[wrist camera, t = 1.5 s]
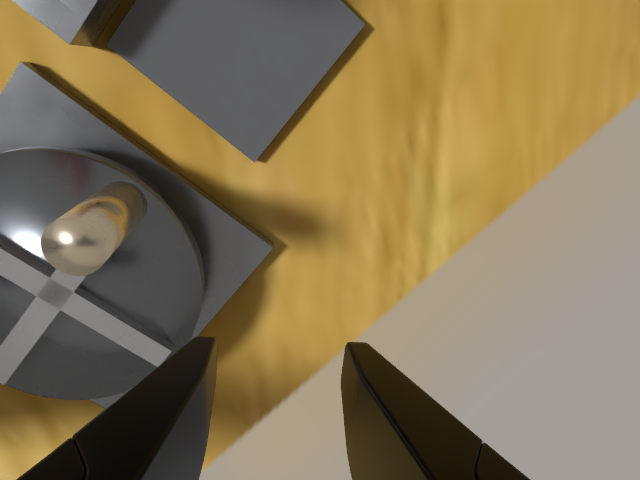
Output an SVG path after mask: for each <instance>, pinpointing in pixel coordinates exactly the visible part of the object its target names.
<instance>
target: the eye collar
mask: <svg viewBox="0 0 640 480" xmlns="http://www.w3.org/2000/svg"><path fill="white" fill-rule="evenodd" d="M12 1H14V2H15V3H16V4H18V5H19V6H20V7H22V8H23V9H24V10H25V11H27V12H28V13H29V14H31V15H32V16H33V17H34V18H36V19H37V20H38V21H40V22H41V23H42V24H43V25H45V26H46V27H47V28H49V29H50V30H51V31H53V32H54V33H55V34H56V35H58V36H59V37H60V38H62V39H63V40H64V41H65V42H67V43H68V44H69V45H79V46H88V47H92V46H93V44H94V42H95V41H96V39H97V38H98V36H99V35H100V33H101V32H102V30H103V29H104V27H105V26H106V24H107V23H108V21H109V19H110V18H111V16H112V15H113V13H114V12H115V10H116V9H117V7H118V6H119V4H120V3H121V1H122V0H12Z"/></svg>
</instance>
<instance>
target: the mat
mask: <svg viewBox="0 0 640 480" xmlns="http://www.w3.org/2000/svg"><path fill="white" fill-rule="evenodd" d="M364 25H365V24H364V23H363V22H362V21H361V20H360V19H359V18H358V17H357V16H356V15H355V14H354V13H353V12H352V11H351V10H350V9H349V8H348V7H347V6H346V5H345V4H344V3H343V2H342V1H341V0H136V1H135V3H134V4H133V6H132V7H131V9H130V10H129V12H128V13H127V15H126V16H125V18H124V19H123V21H122V22H121V24H120V25H119V27H118V28H117V30H116V31H115V33H114V34H113V36H112V38H111V39H110V41H109V42H108V44H107V46H109V47H110V48H111V49H112V50H114V51H115V52H116V53H117V54H119V55H120V56H121V57H122V58H124V59H125V60H126V61H128V62H129V63H130V64H131V65H133V66H134V67H135V68H136V69H138V70H139V71H140V72H141V73H143V74H144V75H145V76H146V77H148V78H149V79H150V80H151V81H153V82H154V83H155V84H156V85H158V86H159V87H160V88H162V89H163V90H164V91H165V92H167V93H168V94H169V95H170V96H172V97H173V98H174V99H175V100H177V101H178V102H179V103H180V104H182V105H183V106H184V107H185V108H187V109H188V110H189V111H190V112H192V113H193V114H194V115H196V116H197V117H198V118H199V119H201V120H202V121H203V122H204V123H206V124H207V125H208V126H209V127H211V128H212V129H213V130H214V131H216V132H217V133H218V134H219V135H221V136H222V137H223V138H224V139H226V140H227V141H228V142H230V143H231V144H232V145H233V146H235V147H236V148H237V149H238V150H240V151H241V152H242V153H243V154H245V155H246V156H247V157H248V158H250V159H251V160H252V161H253V162H255V161H256V160H257V159H258V157H259V156H260V155H261V154H262V152H263V151H264V150H265V149H266V147H267V146H268V145H269V144H270V142H271V141H272V140H273V139H274V137H275V136H276V135H277V134H278V132H279V131H280V130H281V129H282V127H283V126H284V125H285V124H286V122H287V121H288V120H289V119H290V117H291V116H292V115H293V114H294V112H295V111H296V110H297V109H298V108H299V106H300V105H301V104H302V103H303V101H304V100H305V99H306V98H307V96H308V95H309V94H310V93H311V91H312V90H313V89H314V88H315V86H316V85H317V84H318V83H319V81H320V80H321V79H322V78H323V76H324V75H325V74H326V73H327V71H328V70H329V69H330V68H331V66H332V65H333V64H334V63H335V61H336V60H337V59H338V58H339V56H340V55H341V54H342V53H343V52H344V50H345V49H346V48H347V47H348V45H349V44H350V43H351V42H352V40H353V39H354V38H355V37H356V35H357V34H358V33H359V32H360V30H361V29H362V28H363V27H364Z"/></svg>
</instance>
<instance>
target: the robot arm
mask: <svg viewBox="0 0 640 480" xmlns="http://www.w3.org/2000/svg"><path fill="white" fill-rule="evenodd" d="M216 370H217V340H216V338H214V337H194V338H193V339H192V340H190V341H189V342H188V343H187V344H186V345H184V346H183V347H182V348H181V349H179V350H178V351H177V352H176V353H174V354H173V355H172V356H171V357H169V358H168V359H167V360H166V361H165V362H163V363H162V364H161V365H160V366H158V367H157V368H156V369H155V370H153V371H152V372H151V373H150V374H148V375H147V376H146V377H145V378H143V379H142V380H141V381H140V382H139V383H137V384H136V385H135V386H134V387H132V388H131V389H130V390H129V391H127V392H126V393H125V394H124V395H122V396H121V397H120V398H119V399H118V400H116V401H115V402H114V403H113V404H111V405H110V406H109V407H108V408H106V409H105V410H104V411H103V412H101V413H100V414H99V415H98V416H96V417H95V418H94V419H93V420H92V421H90V422H89V423H88V424H87V425H85V426H84V427H83V428H82V429H80V430H79V431H78V432H77V433H75V434H74V435H73V437H72V438H70V439H68V440H67V441H65V442H64V443H63V444H62V445H60V446H59V447H58V448H57V449H55V450H54V451H53V452H52V453H50V454H49V455H48V456H47V457H45V458H44V459H43V460H41V461H40V462H39V463H37V464H36V465H35V466H34V467H32V468H31V469H30V470H28V471H27V472H26V473H24V474H23V475H22V476H21V477H19V478H18V479H16V480H199V476H200V473H201V469H202V465H203V461H204V457H205V452H206V446H207V440H208V433H209V426H210V419H211V412H212V405H213V398H214V391H215V384H216ZM341 392H342V403H343V414H344V425H345V436H346V446H347V454H348V460H349V466H350V471H351V476H352V480H530V479H529V478H528V477H526V476H525V475H524V474H523V473H521V472H520V471H519V470H518V469H516V468H515V467H514V466H513V465H511V464H510V463H509V462H508V461H507V460H505V459H504V458H503V457H501V456H500V455H499V454H498V453H497V452H496V451H494V450H493V449H492V448H491V447H490V446H488V445H487V444H486V443H483V444H482V440H481V439H480V438H479V437H478V436H476V435H475V434H474V433H473V432H472V431H470V430H469V429H468V428H467V427H466V426H465V425H463V424H462V423H461V422H460V421H459V420H458V419H456V418H455V417H454V416H453V415H452V414H450V413H449V412H448V411H447V410H446V409H445V408H443V407H442V406H441V405H440V404H438V403H437V402H436V401H435V400H434V399H432V398H431V397H430V396H429V395H428V394H427V393H426V392H424V391H423V390H422V389H421V388H420V387H418V386H417V385H416V384H415V383H414V382H412V381H411V380H410V379H409V378H408V377H407V376H405V375H404V374H403V373H402V372H401V371H400V370H398V369H397V368H396V367H395V366H394V365H392V364H391V363H390V362H389V361H387V360H386V359H385V358H384V357H383V356H382V355H381V354H379V353H378V352H377V351H376V350H375V349H373V348H372V347H371V346H370V345H369V344H367V343H363V342H348V343H347V345H346V347H345V353H344V361H343V367H342V375H341Z"/></svg>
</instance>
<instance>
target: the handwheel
mask: <svg viewBox="0 0 640 480" xmlns="http://www.w3.org/2000/svg"><path fill="white" fill-rule="evenodd" d="M204 289H205V276H204V267H203V262H202V258H201V254H200V250H199V247H198V245H197V242H196V240H195V237H194V235H193V233H192V231H191V229H190V228H189V226H188V224H187V222H186V221H185V219H184V217H183V216H182V215H181V214H180V212H179V211H178V210H177V208H176V207H175V206H174V204H173V203H172V202H171V201H170V200H169V199H168V198H167V197H166V196H165V195H164V194H163V193H162V192H161V191H160V190H159V189H158V188H156V187H155V186H154V185H153V184H151V183H150V182H149V181H148V180H147V179H145V178H144V177H142V176H141V175H139V174H137V173H136V172H134V171H133V170H131V169H130V168H128V167H126V166H124V165H122V164H120V163H118V162H115V161H113V160H111V159H109V158H106V157H103V156H100V155H97V154H95V153H92V152H87V151H83V150H78V149H74V148H67V147H57V146H31V147H24V148H18V149H12V150H9V151H5V152H2V153H0V383H1V384H3V385H4V384H5V385H7V386H9V387H12V388H15V389H18V390H21V391H24V392H26V393H30V394H35V395H39V396H43V397H49V398H56V399H68V400H85V399H98V398H104V397H109V396H114V395H117V394H121V393H124V392H127V391H129V390H130V389H131V388H132V387H134V386H135V385H136V384H137V383H139V382H140V381H141V380H142V379H143V378H145V377H146V376H147V375H148V374H150V373H151V372H152V371H153V370H155V369H156V368H157V367H158V366H160V365H161V364H162V363H163V362H165V361H166V360H167V359H168V358H169V357H171V356H172V355H173V354H174V353H176V352H177V351H178V350H179V349H181V348H182V347H183V346H184V345H186V344H187V343H188V342H189V340H190V339H191V337H192V335H193V333H194V330H195V327H196V324H197V321H198V318H199V315H200V312H201V309H202V304H203V298H204Z"/></svg>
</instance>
